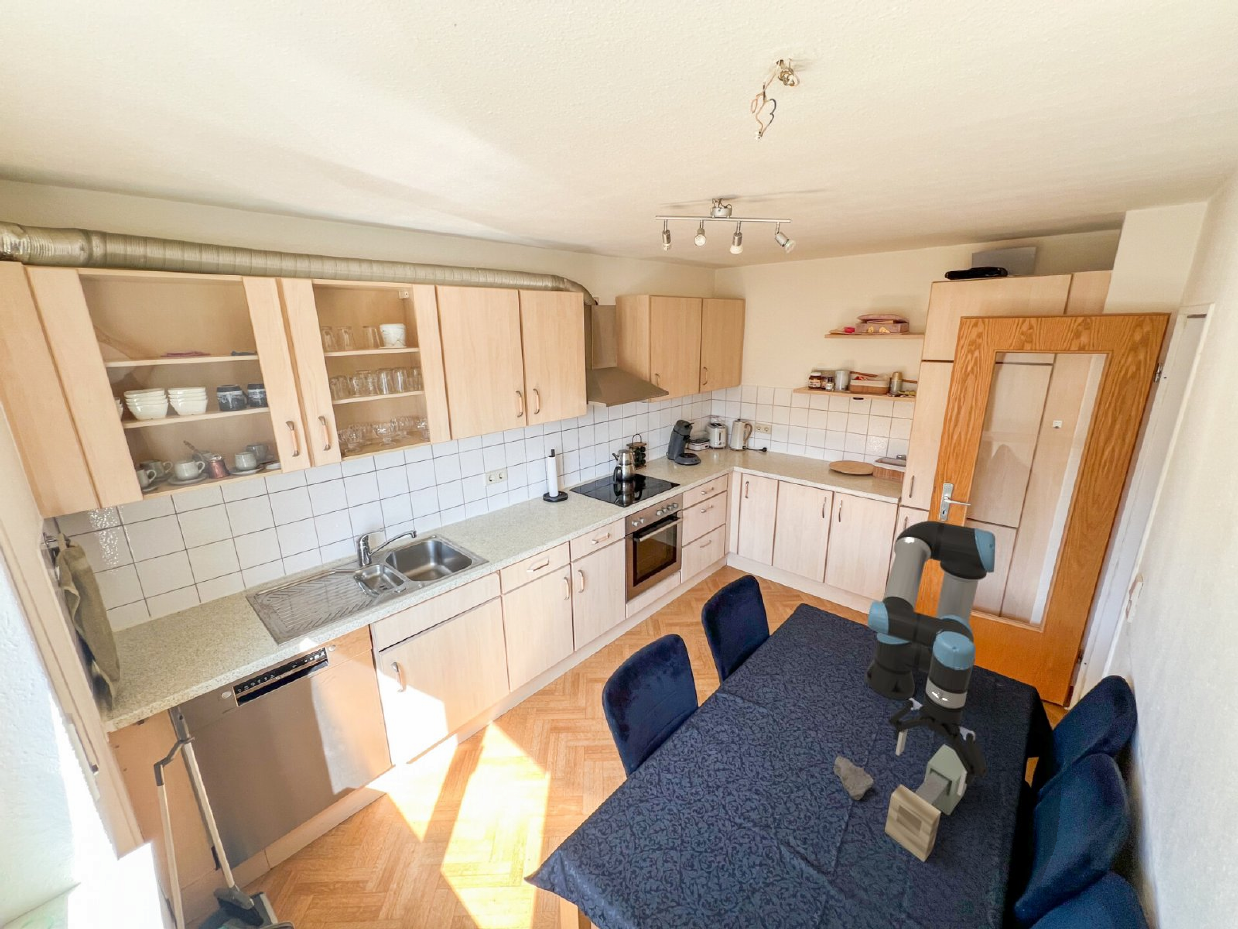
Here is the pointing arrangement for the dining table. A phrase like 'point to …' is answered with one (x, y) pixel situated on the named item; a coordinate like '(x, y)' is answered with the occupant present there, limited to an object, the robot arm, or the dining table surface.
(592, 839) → the dining table surface
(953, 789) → the sleeve
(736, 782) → the dining table surface
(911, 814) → the socket block
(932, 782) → the grey-banded white peg
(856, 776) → the stone
